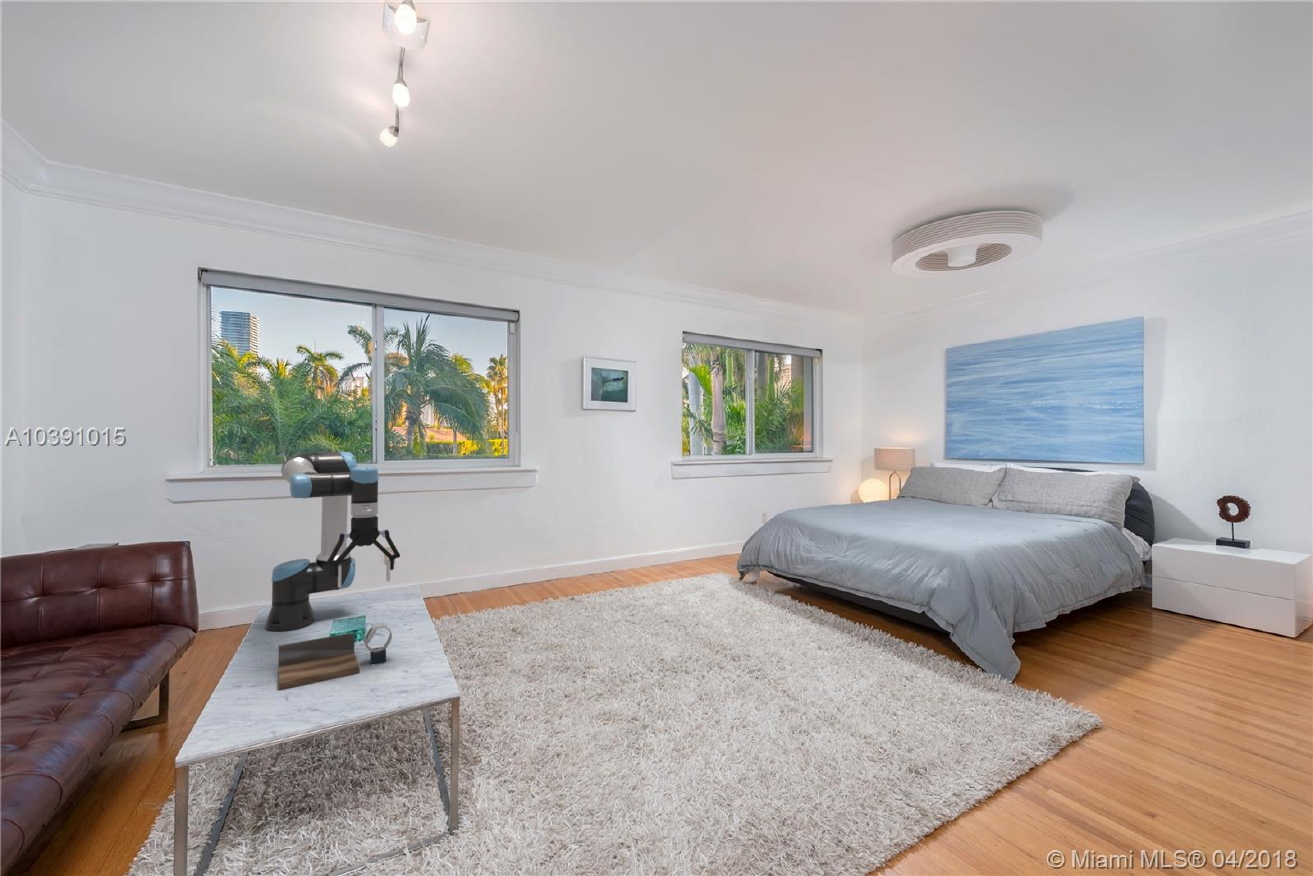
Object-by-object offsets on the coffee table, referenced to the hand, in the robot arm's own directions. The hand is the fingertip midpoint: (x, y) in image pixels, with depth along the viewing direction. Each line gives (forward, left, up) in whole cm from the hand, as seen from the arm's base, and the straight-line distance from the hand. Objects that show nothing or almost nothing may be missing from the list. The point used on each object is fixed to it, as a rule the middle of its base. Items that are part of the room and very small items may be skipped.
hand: (364, 583), depth 172 cm
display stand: (+1, -12, -25) cm, 28 cm away
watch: (+1, +4, -25) cm, 25 cm away
